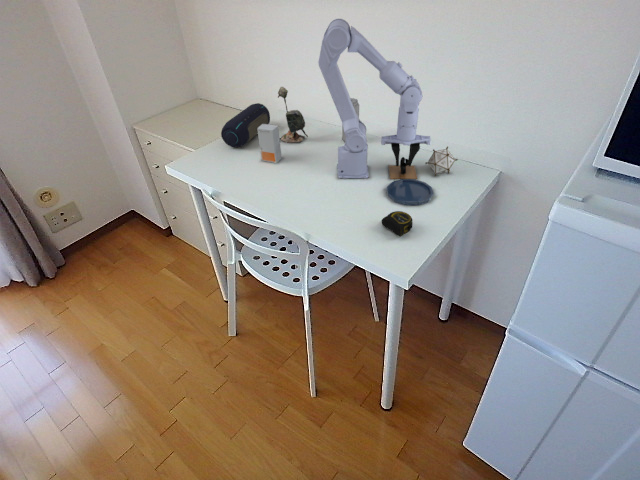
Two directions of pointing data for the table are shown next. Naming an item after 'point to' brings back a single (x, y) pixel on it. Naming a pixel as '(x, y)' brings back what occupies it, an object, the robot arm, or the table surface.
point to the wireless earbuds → (403, 165)
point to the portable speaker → (245, 125)
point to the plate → (409, 192)
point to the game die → (441, 161)
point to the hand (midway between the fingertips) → (403, 164)
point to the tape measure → (398, 222)
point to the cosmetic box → (269, 143)
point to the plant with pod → (292, 122)
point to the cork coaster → (396, 172)
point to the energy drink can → (356, 107)
